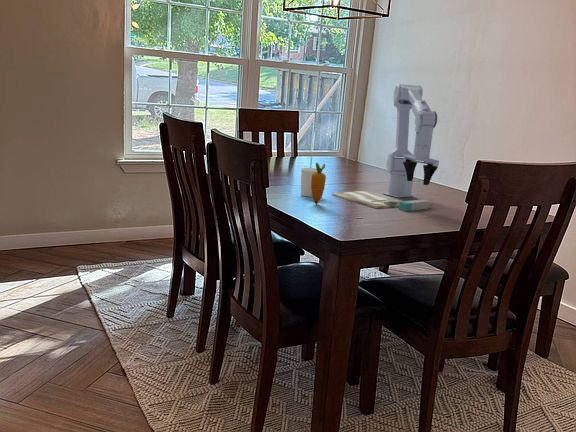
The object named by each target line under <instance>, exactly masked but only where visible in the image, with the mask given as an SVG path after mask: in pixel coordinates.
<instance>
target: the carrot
mask: <svg viewBox="0 0 576 432" xmlns="http://www.w3.org/2000/svg"><path fill="white" fill-rule="evenodd" d="M315 168H316V170H317V172H315V173H313V174H312V181H311V189H312V199H313V202H314V204H315V205H318V204H319V202H320V201H321V199H322V197H323V194H324V191H325V186H326V180H327V179H326V178H327V177H326V174H325V173H324V172H323V170H324V169H326V163H323V165H322V167H321V166H320V163H318V162H315ZM321 172H322V173H321Z"/></svg>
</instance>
